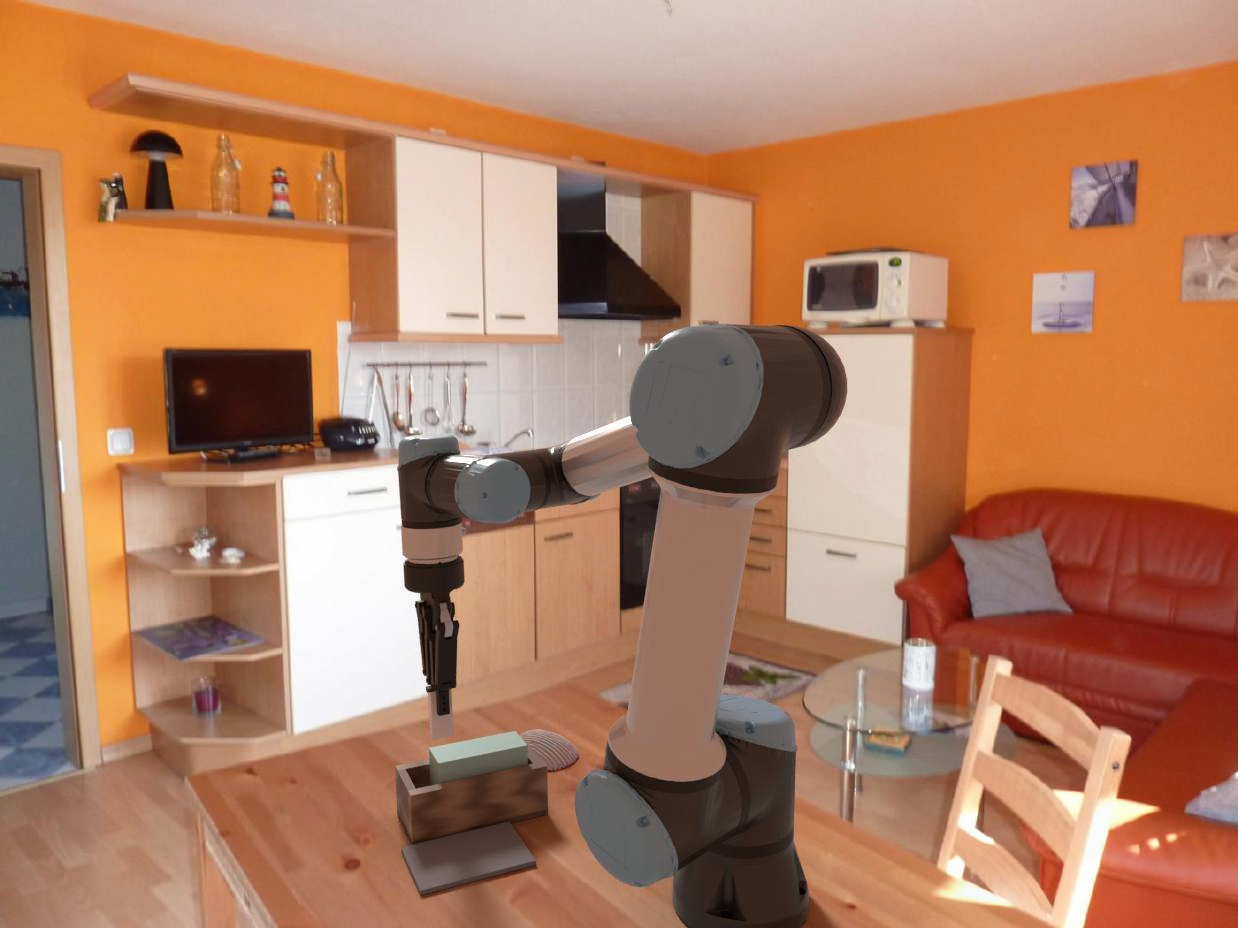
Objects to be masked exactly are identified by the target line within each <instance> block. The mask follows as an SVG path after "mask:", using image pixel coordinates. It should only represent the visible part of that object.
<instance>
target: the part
mask: <svg viewBox="0 0 1238 928" xmlns="http://www.w3.org/2000/svg"><path fill="white" fill-rule="evenodd" d="M519 735H520V734H519V733H518V732H517V731H516V730H514V731H508V732H503V733H498V734H492V735H488V736H482V737H476V738H471V739H468V740H461V741H458V742H457V741H456V742H453V743H452V742H451V743H447V744H441V745H436V746H431V747H428V757H429V758H428V759H429V765H430V784H431V785H436V784H441V783H445V782H450V781H455V780H459V779H464V778H468V777H473V776H478V775H482V774H487V773H492V772H496V771H501V770H506V769H510V768H515V767H520V766H524V765H528V746H527V744H526V743H525V742H524V741H523V739H522V738H521V737H520V736H519Z"/></svg>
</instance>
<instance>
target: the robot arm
mask: <svg viewBox="0 0 1238 928" xmlns="http://www.w3.org/2000/svg"><path fill="white" fill-rule="evenodd" d="M631 382H632V383H631V387H630V390H629V391H630V392H629V403H628V404H629V405H628V406H629V407H628V408H629V416H627V417H624V418H621V419H618V420H616V421H614V422H611V423H609V424H606V425H604V426H602V427H599V428H597V429H594V430H592V431H589V432H587V433H584V434H581V435H579V436H576V437H573V438H572V439H570V440H567V441H564V442H562V443H559V444H557V445H554V446H549V447H544V448H543V447H542V448H537V449H532V450H531V449H530V450H529V449H527V450H520V451H512V452H511V451H510V452H509V451H508V452H501V453H493V454H485V455H482V454H481V455H472V454H471V455H470V454H461V450H460V444H459V440H458V438H457V437H456V436H454V435H453V434H446V433H445V434H443V433H435V434H433V433H429V434H415V435H414V434H413V435H408V436H405V437H403V438H402V439H400V441H399V442H398V447H397V448H398V449H397V450H398V451H397V453H398V457H397V458H398V465H397V467H396V470H397V477H398V489H399V490H398V493H399V504H400V505H399V507H400V520H401V525H400V533H401V534H400V535H401V550H402V556H403V557H404V558H405V560H404V562H403V580H404V581H403V582H404V583H403V584H404V585H403V586H404V588H405V589H406V590H407V591H408V592H411V593H415V594H419V598H420V600H415V602H414V608H415V612H416V616H417V617H416V618H417V624H418V634H419V635H418V636H419V647H420V655H421V665H422V666H421V667H422V671H421V673H422V675H423V676H424V677H426V679H425V681H426V684H427V686H425V691H426V694H427V698H428V700H427V701H428V718H429V720H428V721H429V736H430V738H431V739H432V741H433V740H438V739H442V738H443V739H444V738H448V737H454V718H453V715H454V714H453V693H452V690H453V689H456V688H457V675H458V673H457V669H458V667H457V666H458V665H457V663H458V636H459V631H460V626H461V625H460V622H459V620H458V619H455V620H454V617H455V615H456V607H455V603H454V601H452V599H451V593H452V592H453V591H454V590H459V589H460V588H461V587H462V586H464V584H465V583H466V582H465V579H466V578H465V561H464V560H465V559H464V558H463V556H461V554H462V553H463V552H464V548H463V547H464V545H463V536H465V535H466V534H467V529H466V528H465V527H463V519H467V520H471V521H472V520H473V521H474V522H478V523H479V522H480V524H488V525H489V524H492V523H493V524H500V525H501V524H508V523H511V522H512V521H514V520H515V519H516V518H518V517H519V516H520V515H521V514H523V513H528V512H533V511H537V510H543V509H548V508H550V509H551V508H554V507H555V508H556V507H560V506H561V507H563V506H568V505H571V506H574V505H579V504H583V503H586V502H588V501H593V500H594V499H597V498H598V497H599V496H601V495H602V494H604V493H606V492H608V491H609V492H610V491H613V490H615V489H618V488H623V487H624V486H625V487H626V486H628V485H631V484H634V483H638V482H641V481H644V480H647V479H650V478H653V479H654V480H655V481H656V483H657V484H658V485H659V489H660V493H659V494H660V495H659V500H658V507H657V513H656V521H655V526H654V528H655V529H654V534H653V540H652V547H651V552H650V553H651V554H650V559H649V566H648V573H647V580H646V587H645V594H644V601H643V606H642V607H643V608H642V614H641V620H640V625H639V633H638V640H637V645H636V653H635V660H634V667H633V673H632V680H631V685H630V693H629V701H628V706H627V707H628V708H627V711H626V712H627V713H626V714H624V715H622V716H620V717H619V718H618V719H616V720H615V721H614V722H613V723H612V724H611V726H610V728H609V730H608V735H607V741H606V742H607V743H606V748H605V749H606V750H605V755H604V761H603V764H602V766H601V767H600V768H594V769H592V770H590V771H589V772H588V773H587V774H586V775H585V776H583V777H582V778H581V779H580V781H579V782H578V785H577V787H576V790H575V794H574V809H575V817H576V820H577V824H578V828H579V830H580V833H581V836H582V838H583V839H584V841H585V843H586V845H587V848H588V849H589V851H590V852H591V854H592V855H593V857H594V859H595V860H596V861H597V862H598V863H599V864H600V866H601V867H602V868H603V869H604V870H605V872H607V873H608V874H609V875H611V876H612V877H613V878H614V879H616V880H618V881H619V882H621V883H623V884H624V885H625V884H626V885H627V886H629V887H635V888H645V887H646V888H648V887H650V886H653V885H654V884H656V883H658V882H660V881H662V880H664V879H670V878H671V877H672V886H671V887H672V888H671V889H672V890H671V891H672V895H671V896H672V905H673V908H674V911H675V912H676V914H677V916H678V917H679V919H680V920H681V921H682V922H683V923H685V924H686V925H687V926H688V927H689V928H801V927H802V926H803V924H804V923H805V922H806V920H807V918H808V915H809V901H810V899H809V895H810V891H809V885H808V882H807V878H806V875H805V872H804V869H803V866H802V863H801V860H800V856H799V853H798V850H797V847H796V844H795V841H794V838H795V837H794V836H795V803H796V802H795V801H796V800H795V799H796V797H795V795H796V766H797V765H796V763H797V760H796V758H797V757H796V755H797V751H798V745H797V742H796V741H797V739H796V724H795V721H794V719H793V718H792V717H791V715H790V713H788V712H787V711H786V710H785V709H783V708H782V707H780V706H779V705H777V704H776V705H775V704H773V703H771V702H768V701H766V700H763V699H759V698H754V697H750V696H742V695H734V694H732V695H731V694H722V693H723V687H724V682H725V681H724V680H725V676H726V669H727V667H728V666H727V665H728V659H729V652H730V647H731V642H732V637H733V631H734V625H735V621H736V616H737V615H736V614H737V611H738V610H737V609H738V603H739V597H740V594H741V586H742V581H743V576H744V571H745V566H746V565H745V564H746V559H747V553H748V547H749V543H750V536H751V531H752V525H753V520H754V516H755V509H756V505H757V504H758V502H760V501H762V500H763V499H764V498H766V497H767V496H769V495H770V494H772V493H774V492H775V491H776V488H777V484H778V480H779V474H780V468H781V464H782V458H783V453H784V451H788V450H789V451H790V450H793V449H794V450H795V449H797V448H801V447H802V448H803V447H806V446H807V445H810V444H811V443H815V442H816V441H818V440H820V439H821V438H822V437H824V436H825V435H826V434H828V433H829V431H830V430H831V429H832V428H833V427H834V426H835V425H836V423H837V422H838V420H839V418H841V416H842V413H843V411H844V408H845V405H846V401H847V396H848V377H847V373H846V368H845V366H844V363H843V361H842V359H841V357H840V355H839V354H838V352H837V351H836V349H835V348H834V347H833V346H832V345H831V344H830V343H829V342H828V341H827V340H826V339H825V338H823V336H821V335H820V334H818V333H816V332H814V331H812V330H810V329H807V328H804V327H801V326H797V325H789V324H788V325H787V324H786V325H785V324H775V325H764V324H763V325H760V324H739V323H738V324H735V323H734V324H733V323H718V322H711V323H705V324H704V323H703V324H701V325H696V326H687V327H682V328H678V329H676V330H673V331H671V332H669V333H667V334H666V335H665V336H663V337H662V338H660V339H659V341H657V342H655V343H654V344H653V345H652V346H651V347H650V348H649V349H648V350H647V352H646V353H645V355H643V358H642V359H641V361H640V363H639V365H638V366H637V369H636V370H635V373H634V376H633V379H632V381H631Z"/></svg>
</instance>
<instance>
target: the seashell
mask: <svg viewBox="0 0 1238 928" xmlns="http://www.w3.org/2000/svg"><path fill="white" fill-rule="evenodd" d="M518 735H519V736H520V737H521V738H522V739H523V740H525V741H526V742H527V743H528V745H529V746H530V747H531V748H532V749H533V750H534V751H535V753H536V754H537V755H538V756H539V757H540V758H541V759H542V761H543V762H544V763H545V764H546V765H547V772H549V771H551V772H553V771H557V770H561V769H564V768H566V767H568V766H570V765H573V764H574V763H575V762H576V760H577V759H579V751H578V749H577V747H576V746H575V745H574V744H573V743H572V742H571V741H570V740H569V739H567V738H566V737H564V736H563V735H560V734H558V733H557V732H553V731H550V730H547V729H541V728H540V729H538V728H537V729H529V730H526V731H524V732H522V733H520V734H518Z"/></svg>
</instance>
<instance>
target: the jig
mask: <svg viewBox="0 0 1238 928" xmlns="http://www.w3.org/2000/svg"><path fill="white" fill-rule="evenodd" d="M523 741H524V742H525V743H526V744H527V746H528V765H524V766H520V767H515V768H510V769H506V770H501V771H496V772H492V773H487V774H482V775H478V776H473V777H468V778H464V779H459V780H455V781H450V782H445V783H441V784H436V785H431V784H430V765H429V758H426V759H423V760H422V759H421V760H417V761H413V762H408V763H403V764H398V765H394V769H395V770H394V771H395V772H394V773H395V789H396V790H395V791H396V795H395V796H396V813H397V816H398V819H399V821H400V823H401V826H402V827H403V829H404V832H405V834H406V836H407V838H408V840H409V842H410V844H411V845H413V844H418V843H422V842H426V841H430V840H434V839H438V838H443V837H447V836H451V835H455V834H459V833H463V832H468V831H472V830H476V829H480V828H484V827H488V826H493V825H497V824H501V823H505V822H510V823H511V824H514V823H517V822H518V823H519V822H521V821H522V822H523V821H526V820H530V819H535V818H537V817H543V816H546V815H549V798H548V797H549V791H548V789H549V788H548V787H549V786H548V781H549V780H548V771H547V765H546V764H545V763H544V762H543V761H542V759H541V758H540V757H539V756H538V755H537V754H536V753H535V751H534V750H533V749H532V748H531V747H530V746H529V745H528V743H527V742H526V741H525V740H523Z"/></svg>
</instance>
